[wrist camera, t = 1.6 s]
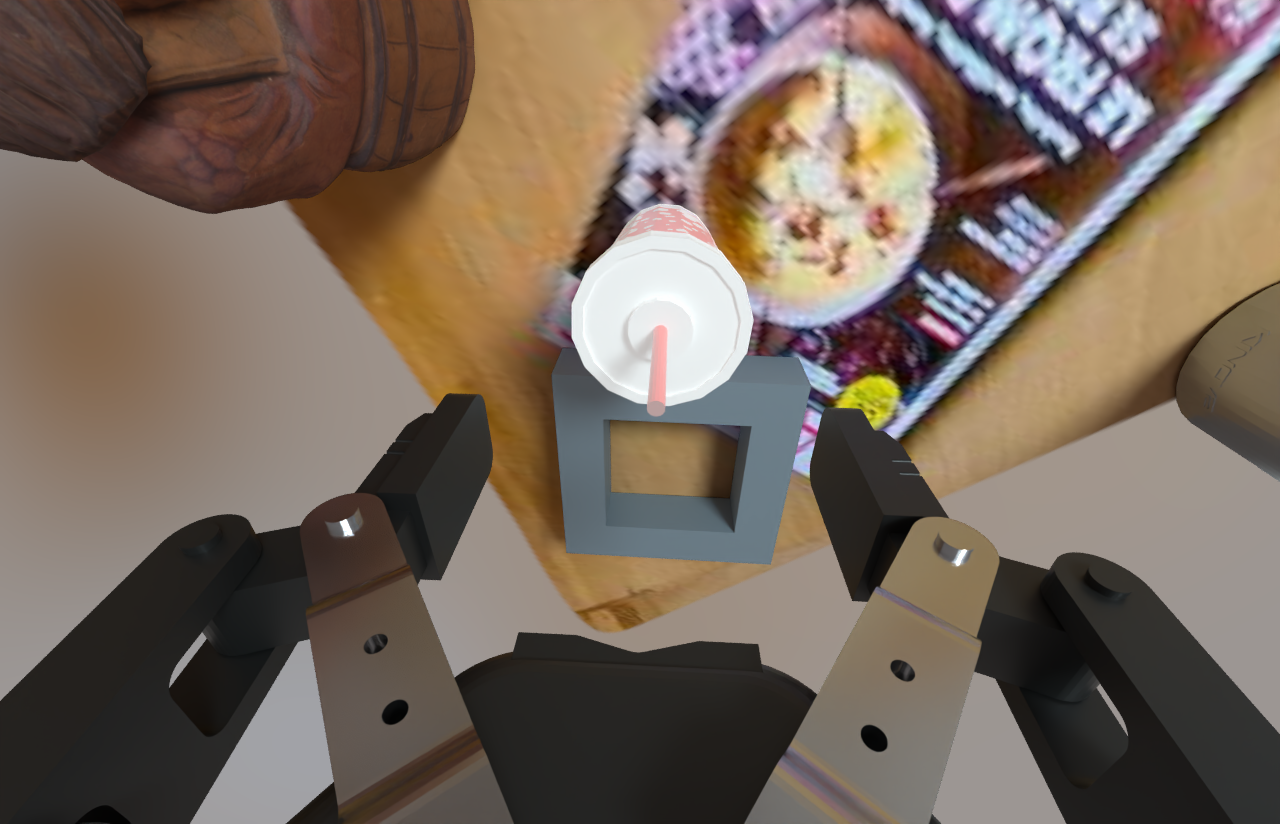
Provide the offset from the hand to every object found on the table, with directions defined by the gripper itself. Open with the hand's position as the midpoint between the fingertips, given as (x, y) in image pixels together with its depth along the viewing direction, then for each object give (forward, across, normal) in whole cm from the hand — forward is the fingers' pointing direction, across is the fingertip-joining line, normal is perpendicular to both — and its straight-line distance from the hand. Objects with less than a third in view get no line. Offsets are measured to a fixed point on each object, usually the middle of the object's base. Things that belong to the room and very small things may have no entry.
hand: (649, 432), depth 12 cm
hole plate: (+15, -1, +11) cm, 19 cm away
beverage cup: (+15, 0, 0) cm, 15 cm away
